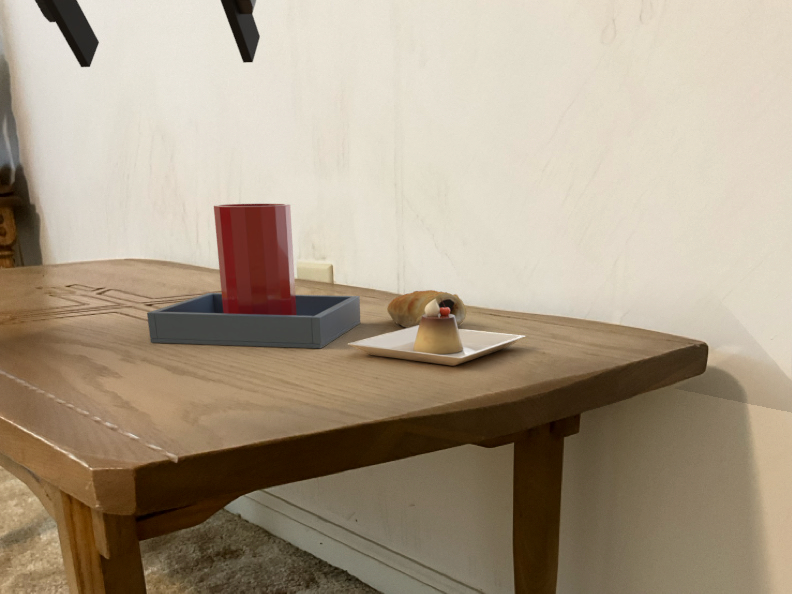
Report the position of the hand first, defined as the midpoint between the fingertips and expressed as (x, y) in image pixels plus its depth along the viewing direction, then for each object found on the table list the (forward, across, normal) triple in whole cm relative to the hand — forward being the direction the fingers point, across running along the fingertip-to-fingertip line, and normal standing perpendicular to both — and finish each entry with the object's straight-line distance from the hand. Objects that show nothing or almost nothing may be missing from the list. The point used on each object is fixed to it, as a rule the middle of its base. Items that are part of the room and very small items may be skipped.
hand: (169, 52), depth 66 cm
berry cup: (+27, 0, -7) cm, 28 cm away
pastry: (+32, +16, -2) cm, 36 cm away
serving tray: (+27, 0, -7) cm, 28 cm away
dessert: (+22, +20, -12) cm, 32 cm away
